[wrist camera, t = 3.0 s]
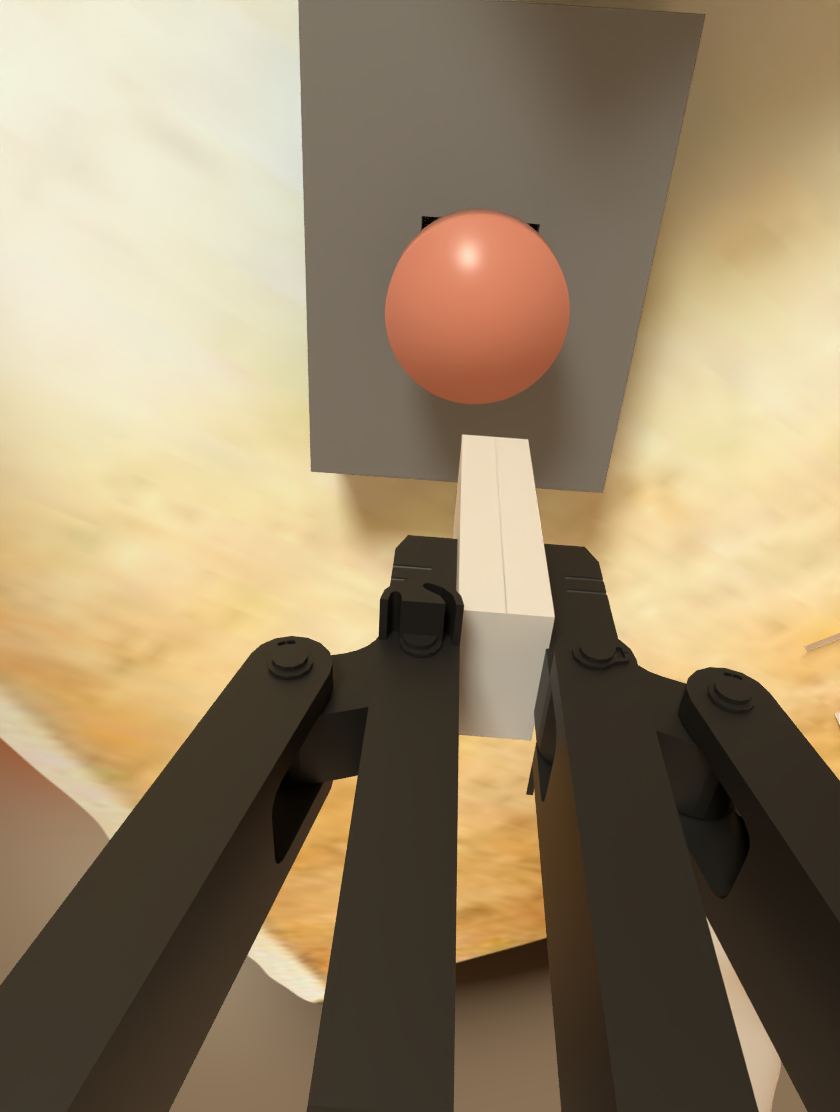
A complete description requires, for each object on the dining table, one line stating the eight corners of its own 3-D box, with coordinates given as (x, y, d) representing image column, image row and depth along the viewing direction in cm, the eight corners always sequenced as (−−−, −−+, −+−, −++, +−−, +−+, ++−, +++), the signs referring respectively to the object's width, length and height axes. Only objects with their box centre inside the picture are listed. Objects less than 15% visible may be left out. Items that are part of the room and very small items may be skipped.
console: (328, 423, 44) (311, 471, 39) (323, -3, 33) (297, -13, 28) (587, 442, 44) (602, 492, 39) (669, 19, 33) (705, 14, 28)
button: (397, 336, 38) (382, 397, 31) (403, 179, 34) (387, 211, 27) (538, 346, 38) (554, 410, 31) (561, 190, 34) (584, 225, 27)
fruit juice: (549, 795, 61) (601, 1256, 38) (612, 720, 56) (716, 1196, 33) (650, 830, 63) (759, 1291, 39) (720, 760, 58) (892, 1239, 35)
